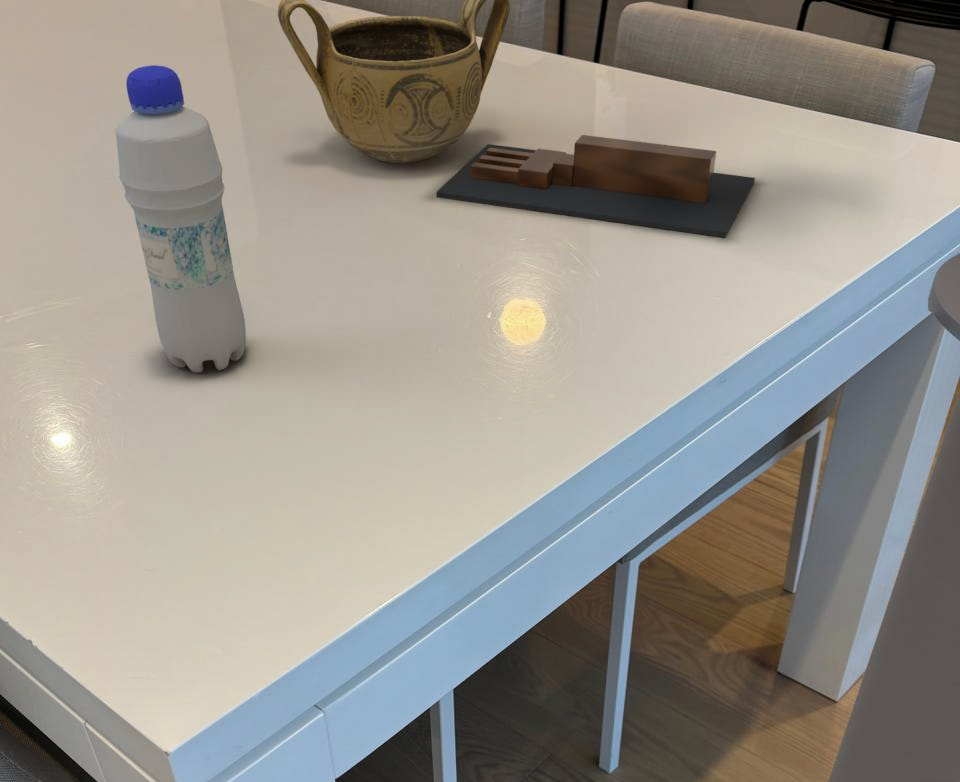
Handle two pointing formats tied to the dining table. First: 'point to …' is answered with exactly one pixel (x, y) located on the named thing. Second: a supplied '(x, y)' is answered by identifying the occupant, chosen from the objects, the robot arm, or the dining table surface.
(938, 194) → the dining table surface
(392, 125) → the ceramic bowl
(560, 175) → the fork
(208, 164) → the bottle
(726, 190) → the place mat
